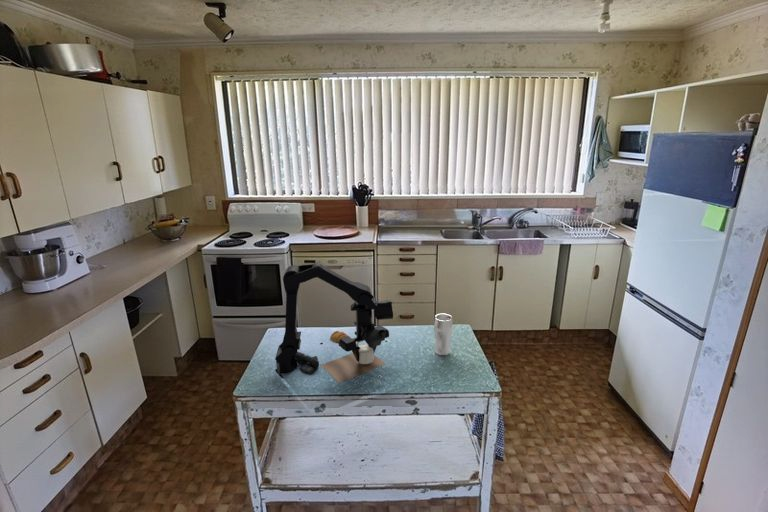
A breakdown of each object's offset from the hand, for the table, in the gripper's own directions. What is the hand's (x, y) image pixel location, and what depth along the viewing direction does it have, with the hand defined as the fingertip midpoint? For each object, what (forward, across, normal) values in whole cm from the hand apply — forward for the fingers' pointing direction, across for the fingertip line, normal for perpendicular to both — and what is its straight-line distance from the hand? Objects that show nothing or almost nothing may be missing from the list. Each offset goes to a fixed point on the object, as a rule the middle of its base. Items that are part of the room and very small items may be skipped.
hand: (365, 358), depth 144 cm
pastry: (+4, +2, +22) cm, 22 cm away
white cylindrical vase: (+3, +30, -10) cm, 32 cm away
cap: (0, 0, 0) cm, 0 cm away
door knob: (+3, 0, 0) cm, 3 cm away
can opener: (+4, -19, +15) cm, 24 cm away
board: (+3, -4, +2) cm, 5 cm away
